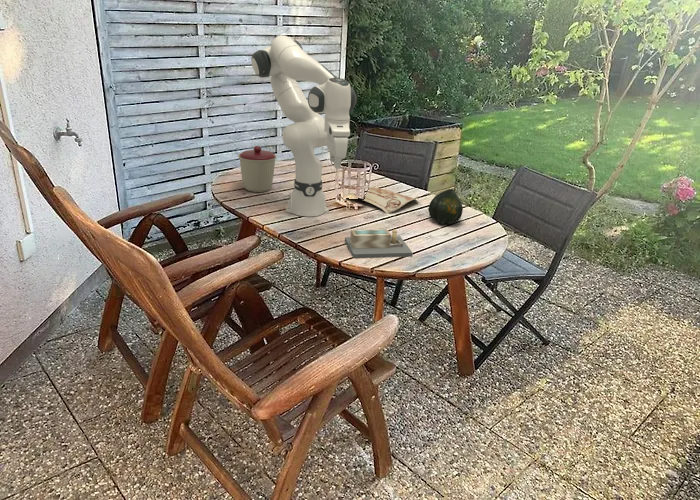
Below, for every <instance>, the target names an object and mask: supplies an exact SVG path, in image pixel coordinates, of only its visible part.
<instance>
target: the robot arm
mask: <svg viewBox="0 0 700 500" xmlns="http://www.w3.org/2000/svg"><path fill="white" fill-rule="evenodd" d="M250 62H251V67H252V69H253V71H254V73H255V74H256V75H257V76H258V77H260V78H270V81H269V82H270V85H271V89H272V92H273V95H274V96H275V99H276V101H277V103H278V105H279V107H280V109H281V110H282V113H283V115H284V116H285V117H286V118H287V120H290V121H292V122H294V123H290V124H288V125H286V126H285V127H284V128H283V130H282V135H281V137H282V143H283V144H284V145H285V147H286V148H287V149H289V151H290V152H291V153H292V156H293V160H294V163H295V164H294V165H295V178H294V182H293V187H294V188H293V190H292V191H291V193H288V199H289V200H288V202H287V204H286V208H285V212H286V213H289V214H290V213H291V214H293V215H297V216H298V217H299V216H301V217H318V216H321V215H323V214H326V213H328V212H329V211H330V209H329V207H327V205H326V193H325V192H324V190H323V185H324V184H323V180H322V176H323V175H322V173H323V164H322V163H323V162H322V161H321V160H320V159H319V158H318V157H316V155H315V151H314V148H320V147H325V146H326V147H327V148H328V150H329V161H330V163H334V168H335V169H336V170H340V169H341V163H342V160H343V159H344V160H345V159H346V157H347V151H348V145H349V144H348V143H349V137H350V136H351V128H350V120H351V117H350V113H351V112H352V110H354V108H355V106H356V104H357V100H358V99H357V98H358V97H357V94H356V93H357V92H356V91H355V89H354V88H353V86H351V84H350V81H348V80H347V79H345V78H340V77H337V76H336V75H335V74H334V73H333V72H332V71H330V69H328V68H327V67H325V65H324V64H322V63H320V62H319V61H317V60H316V59H314V58H313V57H312V56H310V55H309V54H308V53H306V51H305V50H304V49H303V46H302V45H301V43H300V42H299V41H297V40H295V39H294V40H293V39H292V38H291V37H289V36H287V35H283V34H282V35H277V36H276V37H274V38H273V40H272V41H271V43H270V45H269V46H267V47H265V48H263V49H259V50H258V49H257V51H254V52H253V53H252V56H251V61H250ZM298 81H300V82H301V81H302V82H310V83H316V84H317V85H316V86H313V87H312V88H311V89H310V90H309V92H308V96H307V97H306V95H305V94H304V92H303V90H302V88H301V86H300V85H299V83H298ZM320 114H324V117H323V116H322V115H320Z"/></svg>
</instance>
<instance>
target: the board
mask: <svg viewBox="0 0 700 500" xmlns="http://www.w3.org/2000/svg"><path fill="white" fill-rule="evenodd" d="M391 239H392V240H391V243H390V244H398V243H396V239H399V240H400V241H401V242H402V244H403V247H388V248H353V247H352V245H351V244H350V236H347V237H344V242H345V245H346V246H347V248H348V250H349V253H350V254H351V257H352V258H353V259H365V258H366V259H367V258H368V259H371V258H373V259H375V258H403V257H404V258H407V257H413V253H414V252H413V251H412V249H410V247H409V246H408V245H407V243H406V242H405V241H404V239H403V238H402V236H401V235H398V230H397V229H392V233H391Z"/></svg>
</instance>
